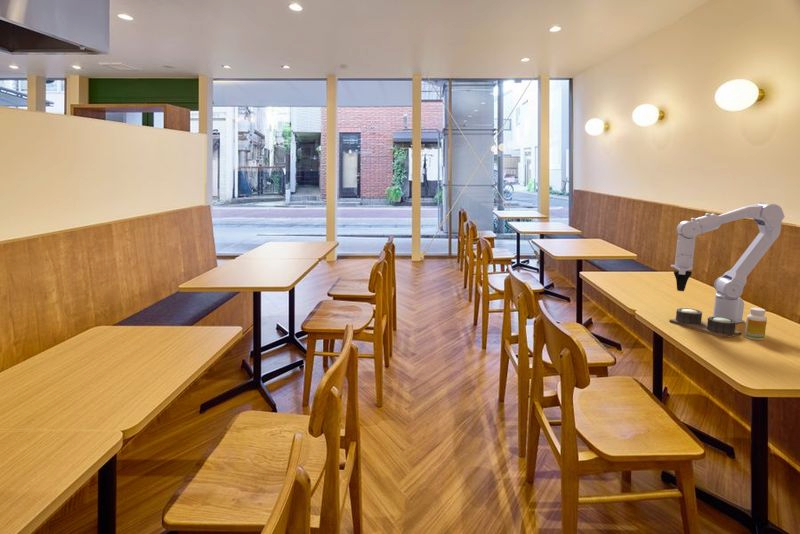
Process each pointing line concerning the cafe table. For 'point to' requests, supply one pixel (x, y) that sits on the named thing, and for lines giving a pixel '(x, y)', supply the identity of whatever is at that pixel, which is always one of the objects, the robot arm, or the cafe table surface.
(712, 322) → the collar board
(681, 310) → the peg cream
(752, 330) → the supplement bottle
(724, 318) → the peg sage
